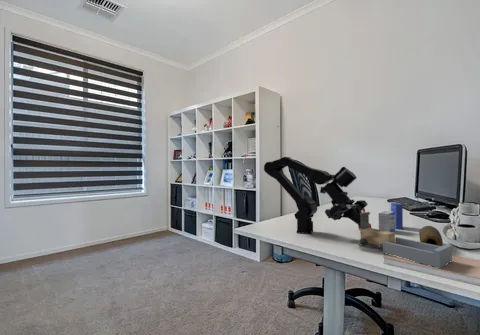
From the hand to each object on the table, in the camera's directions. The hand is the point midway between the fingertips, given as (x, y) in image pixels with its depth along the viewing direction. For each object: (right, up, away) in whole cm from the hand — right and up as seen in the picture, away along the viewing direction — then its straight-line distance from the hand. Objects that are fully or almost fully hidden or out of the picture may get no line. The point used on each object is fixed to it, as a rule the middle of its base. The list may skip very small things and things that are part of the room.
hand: (363, 226), depth 95 cm
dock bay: (+7, -7, -11) cm, 14 cm away
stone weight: (+23, -7, -3) cm, 24 cm away
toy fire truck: (+10, -7, +20) cm, 24 cm away
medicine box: (+20, -7, +19) cm, 29 cm away
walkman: (+28, -7, +26) cm, 39 cm away
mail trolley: (+3, -7, -5) cm, 9 cm away
